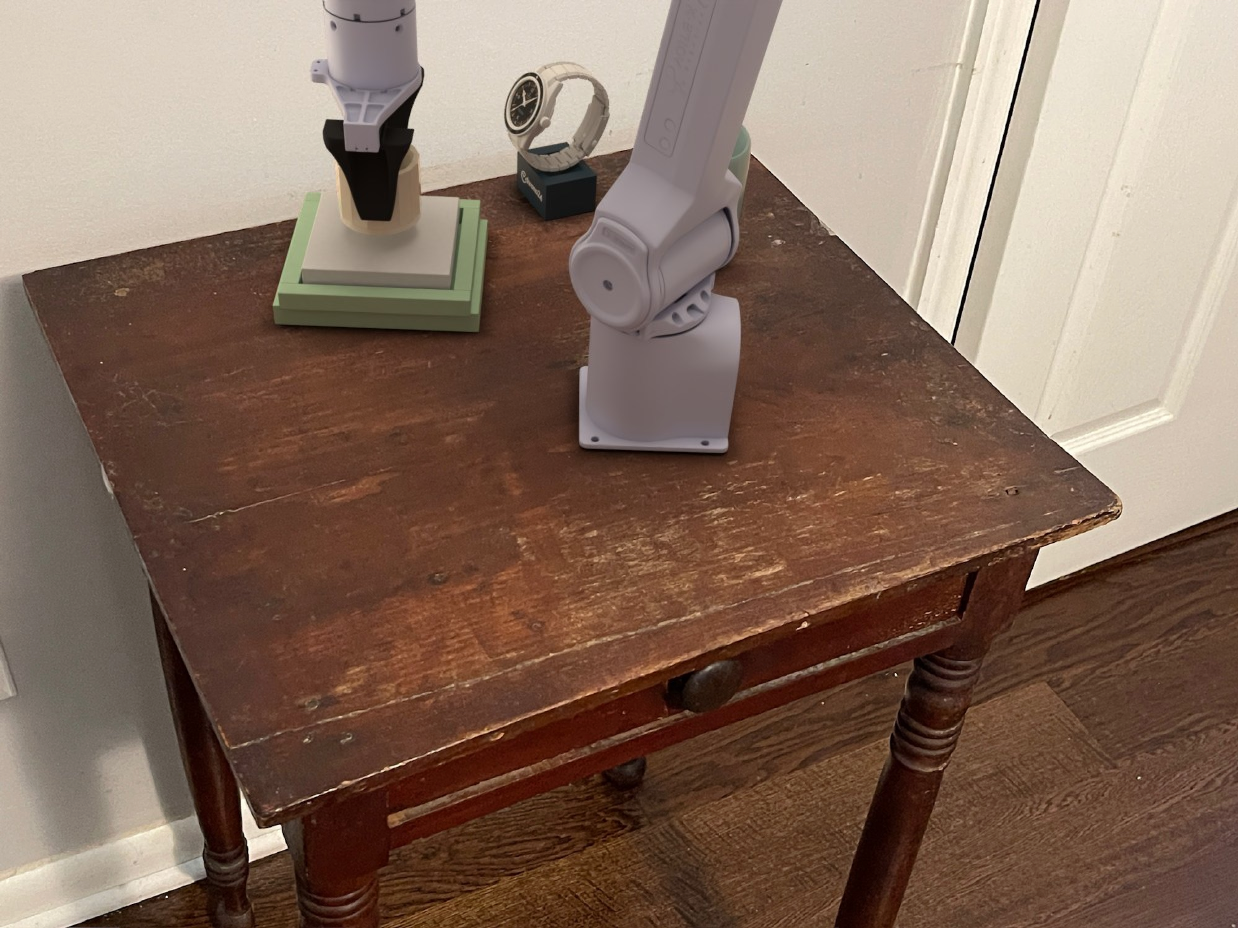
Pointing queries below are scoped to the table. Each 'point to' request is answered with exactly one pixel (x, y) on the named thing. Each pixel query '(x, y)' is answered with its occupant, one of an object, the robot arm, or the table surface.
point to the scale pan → (384, 249)
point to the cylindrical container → (405, 203)
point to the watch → (558, 169)
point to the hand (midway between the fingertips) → (381, 193)
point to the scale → (387, 303)
